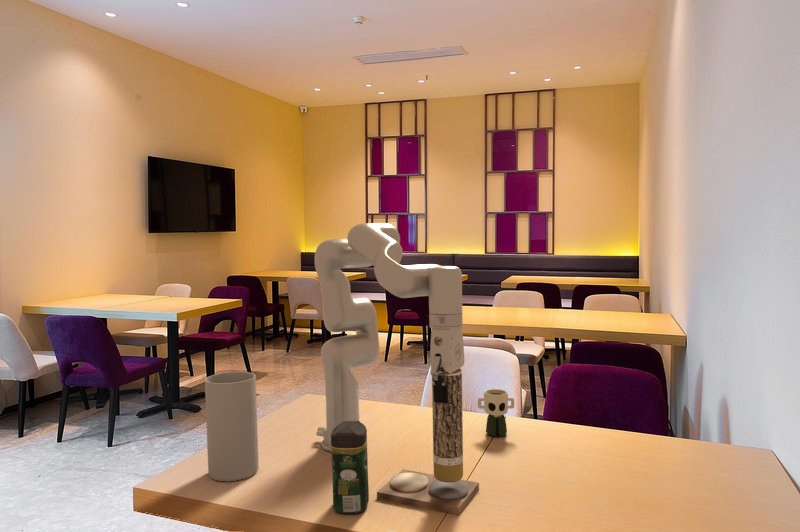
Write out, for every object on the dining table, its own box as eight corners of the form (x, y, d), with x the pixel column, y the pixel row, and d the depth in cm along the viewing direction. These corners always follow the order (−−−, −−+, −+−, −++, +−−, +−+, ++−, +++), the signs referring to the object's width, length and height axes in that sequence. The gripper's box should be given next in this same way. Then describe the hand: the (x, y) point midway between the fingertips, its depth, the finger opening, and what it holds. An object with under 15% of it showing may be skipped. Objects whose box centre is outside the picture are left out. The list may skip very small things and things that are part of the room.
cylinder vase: (268, 468, 152) (265, 374, 151) (234, 486, 141) (230, 385, 140) (233, 460, 158) (230, 370, 157) (197, 477, 147) (194, 380, 146)
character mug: (479, 438, 171) (478, 395, 170) (477, 430, 178) (476, 388, 178) (516, 438, 170) (515, 395, 170) (513, 430, 178) (512, 388, 177)
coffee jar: (337, 495, 135) (335, 417, 134) (370, 496, 135) (369, 417, 134) (329, 515, 125) (327, 431, 124) (365, 516, 125) (363, 431, 124)
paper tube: (464, 472, 135) (463, 367, 134) (461, 484, 129) (460, 374, 128) (435, 470, 137) (434, 366, 136) (431, 482, 130) (429, 373, 129)
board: (376, 498, 133) (376, 488, 133) (403, 475, 146) (403, 466, 146) (458, 515, 125) (458, 504, 124) (479, 488, 137) (478, 479, 137)
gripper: (447, 327, 122) (448, 410, 122) (474, 316, 137) (475, 390, 138) (414, 325, 125) (416, 406, 126) (444, 314, 140) (445, 387, 141)
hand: (447, 397), depth 132 cm, fingers closed on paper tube, 6 cm apart
